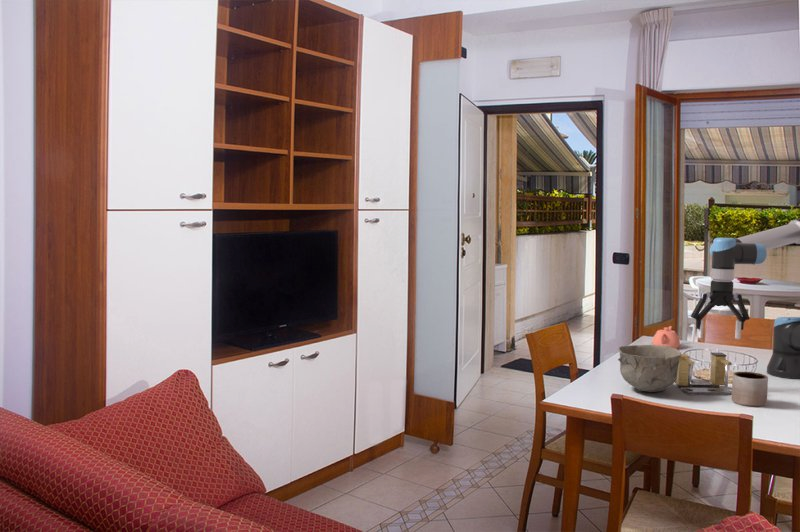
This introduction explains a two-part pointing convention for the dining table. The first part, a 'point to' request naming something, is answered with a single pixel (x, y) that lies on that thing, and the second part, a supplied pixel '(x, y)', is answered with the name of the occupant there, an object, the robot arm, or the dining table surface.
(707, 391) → the hole plate
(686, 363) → the fixed leg
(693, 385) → the rail
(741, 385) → the planter
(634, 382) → the bowl
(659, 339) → the teapot
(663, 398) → the dining table surface
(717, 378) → the sliding leg
